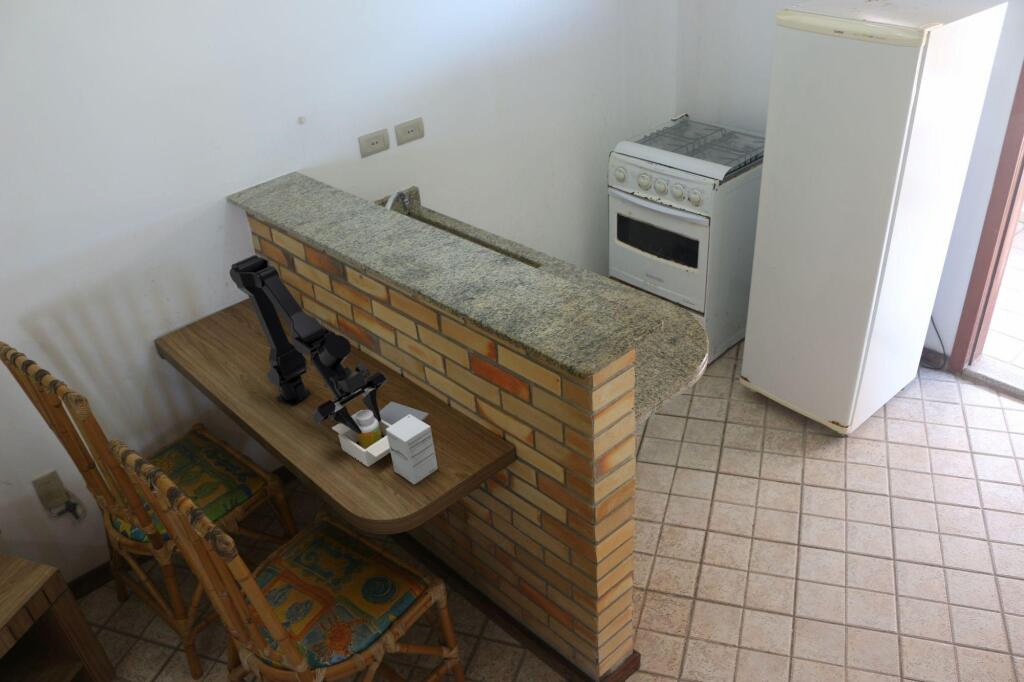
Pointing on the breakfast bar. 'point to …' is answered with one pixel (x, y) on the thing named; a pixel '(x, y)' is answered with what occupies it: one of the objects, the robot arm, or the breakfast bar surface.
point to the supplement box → (412, 448)
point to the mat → (399, 413)
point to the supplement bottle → (367, 428)
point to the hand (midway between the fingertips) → (370, 427)
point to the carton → (363, 455)
